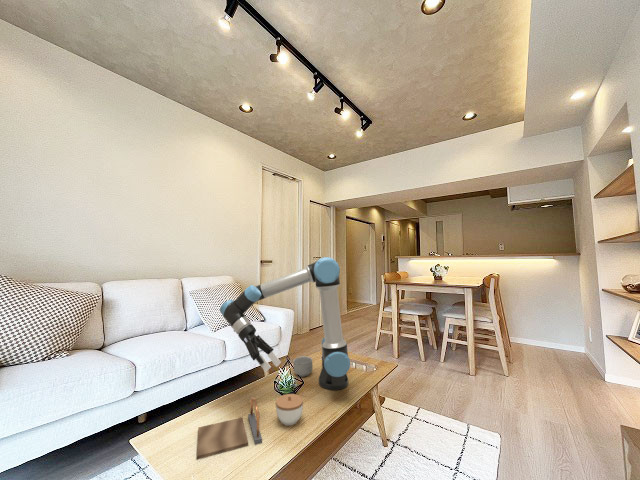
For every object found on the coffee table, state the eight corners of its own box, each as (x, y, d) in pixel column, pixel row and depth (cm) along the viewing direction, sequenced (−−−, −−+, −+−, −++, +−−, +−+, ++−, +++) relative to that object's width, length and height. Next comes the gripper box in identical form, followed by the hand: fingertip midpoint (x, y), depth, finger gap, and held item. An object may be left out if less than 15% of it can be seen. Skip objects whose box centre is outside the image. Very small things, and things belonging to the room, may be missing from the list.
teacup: (309, 379, 141) (309, 363, 142) (290, 377, 144) (290, 362, 144) (315, 369, 155) (315, 354, 156) (297, 367, 157) (297, 353, 158)
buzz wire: (252, 414, 107) (253, 389, 107) (259, 436, 93) (259, 408, 94) (250, 414, 106) (250, 390, 107) (256, 437, 93) (257, 409, 93)
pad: (242, 420, 106) (242, 417, 106) (248, 445, 91) (248, 442, 91) (198, 430, 99) (198, 427, 99) (196, 459, 85) (196, 456, 85)
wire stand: (254, 416, 108) (254, 413, 108) (262, 442, 92) (262, 438, 92) (248, 418, 107) (248, 414, 107) (255, 444, 91) (255, 440, 91)
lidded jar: (291, 410, 112) (291, 387, 113) (308, 420, 105) (308, 396, 106) (270, 420, 105) (270, 396, 106) (286, 433, 97) (287, 406, 98)
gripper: (250, 334, 132) (276, 368, 125) (224, 336, 109) (256, 379, 102) (261, 323, 133) (288, 357, 126) (238, 323, 109) (270, 364, 102)
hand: (274, 367), depth 114 cm, fingers open, 13 cm apart
